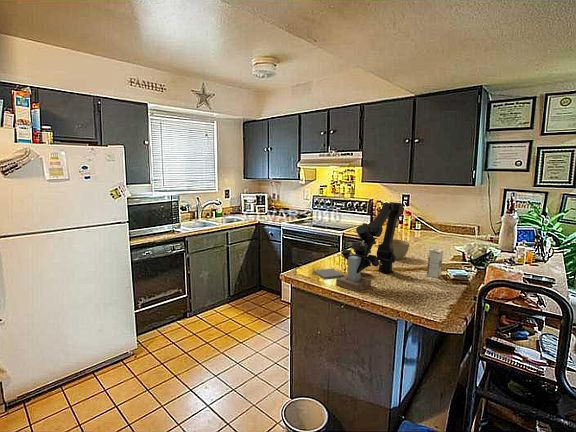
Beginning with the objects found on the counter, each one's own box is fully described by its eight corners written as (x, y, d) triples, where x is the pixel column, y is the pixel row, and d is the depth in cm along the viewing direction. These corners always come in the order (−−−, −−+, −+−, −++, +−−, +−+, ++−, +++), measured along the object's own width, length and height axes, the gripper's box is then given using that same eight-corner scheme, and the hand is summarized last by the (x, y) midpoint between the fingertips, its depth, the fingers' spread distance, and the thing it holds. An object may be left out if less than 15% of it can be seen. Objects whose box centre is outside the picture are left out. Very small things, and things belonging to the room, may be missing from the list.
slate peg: (352, 283, 162) (353, 255, 160) (359, 285, 159) (361, 257, 157) (347, 285, 159) (348, 257, 157) (354, 287, 156) (356, 259, 154)
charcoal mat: (332, 270, 183) (332, 268, 182) (344, 276, 172) (344, 274, 172) (313, 272, 178) (313, 270, 178) (324, 279, 167) (324, 277, 167)
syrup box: (429, 273, 180) (431, 248, 178) (441, 276, 177) (443, 249, 175) (426, 276, 176) (428, 249, 174) (438, 278, 172) (440, 251, 170)
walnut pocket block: (349, 279, 167) (350, 274, 167) (370, 285, 159) (371, 279, 158) (336, 285, 158) (336, 279, 158) (357, 291, 150) (357, 285, 150)
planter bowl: (398, 262, 201) (399, 245, 200) (377, 256, 214) (378, 240, 213) (413, 259, 211) (414, 242, 209) (392, 253, 224) (393, 238, 222)
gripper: (344, 233, 165) (330, 258, 158) (377, 239, 152) (364, 266, 145) (352, 246, 171) (338, 270, 165) (385, 253, 159) (372, 280, 152)
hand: (352, 271), depth 157 cm, fingers closed on slate peg, 4 cm apart
